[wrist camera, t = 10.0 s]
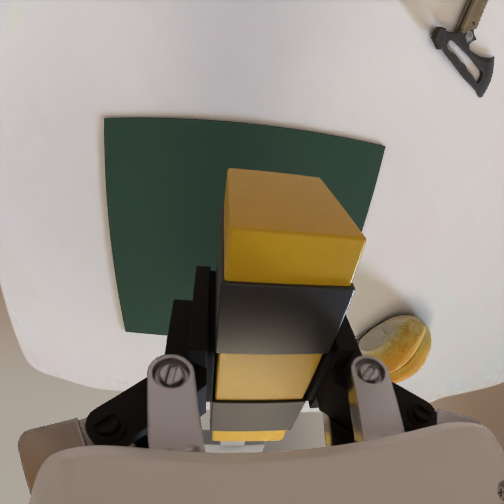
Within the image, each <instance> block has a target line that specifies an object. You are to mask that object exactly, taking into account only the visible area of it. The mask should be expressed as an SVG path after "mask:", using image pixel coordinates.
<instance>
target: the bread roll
mask: <svg viewBox="0 0 504 504" xmlns="http://www.w3.org/2000/svg"><path fill="white" fill-rule="evenodd" d="M358 346H359V348H360V351H361V353H362V355H370V356H374V357H376V358H378V359H380V360H381V361H382V362H383V363H384V364H385V365H386V366H387V369H388V371H389V374H390V378H391V381H392V382H393V383H397V382H401V381H403V380H405V379H407V378H409V377H411V376H412V375H414V374H415V373H416V372H417V371H418V370H419V369H420V368H421V367H422V365H423V364H424V363H425V361H426V359H427V357H428V354H429V351H430V348H431V333H430V330H429V328H428V327H427V325H425V323H424V322H423V321H422V320H421V319H419V318H417V317H415V316H411V315H399V316H396V317H392V318H390V319H388V320H386V321H385V322H383V323H381V324H380V325H378V326H376V327H374V328H373V329H372V330H370V331H369V332H368V333H367V334H366V335H364V336H363V337H362V338H361V340H360V341H359V344H358Z"/></svg>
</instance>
